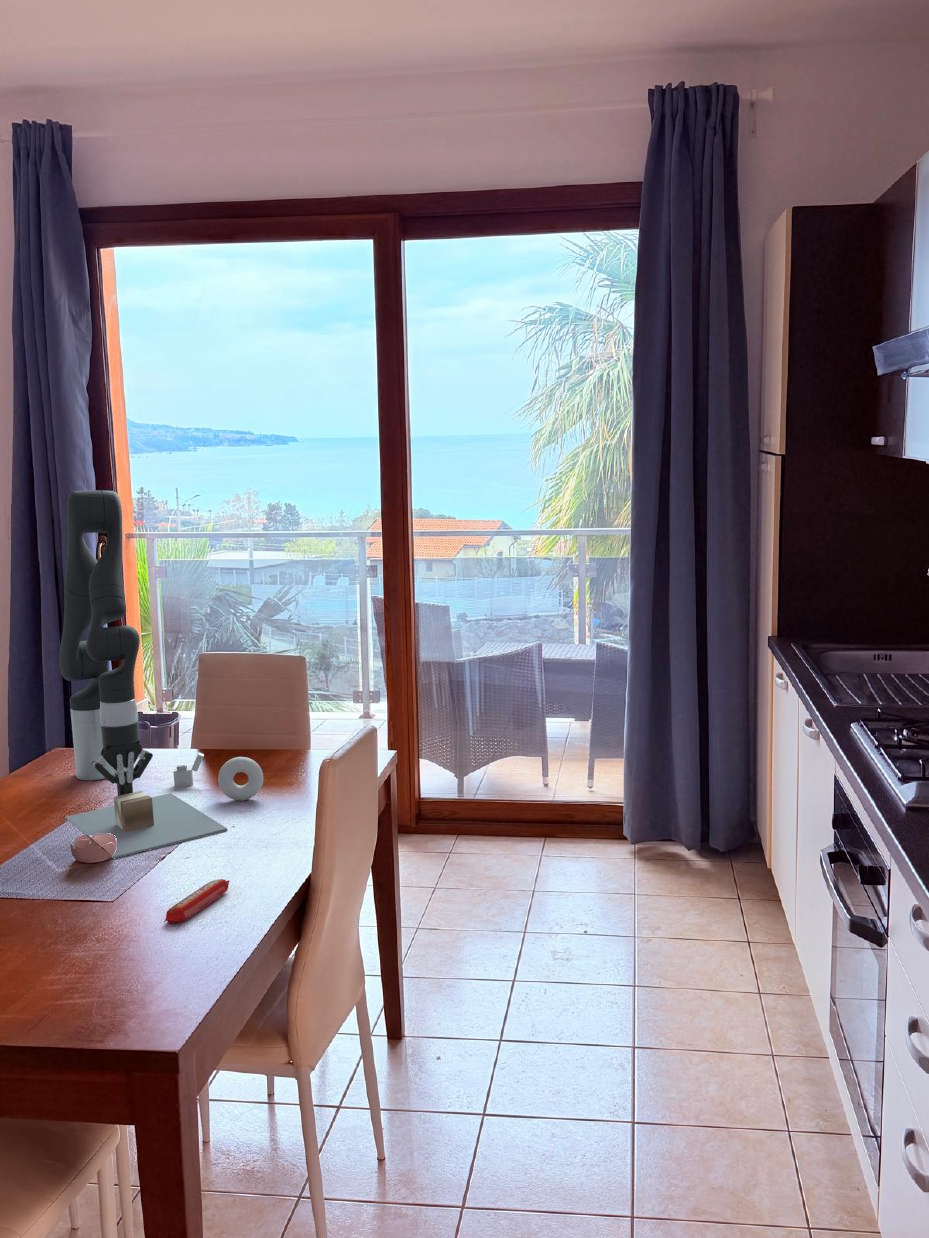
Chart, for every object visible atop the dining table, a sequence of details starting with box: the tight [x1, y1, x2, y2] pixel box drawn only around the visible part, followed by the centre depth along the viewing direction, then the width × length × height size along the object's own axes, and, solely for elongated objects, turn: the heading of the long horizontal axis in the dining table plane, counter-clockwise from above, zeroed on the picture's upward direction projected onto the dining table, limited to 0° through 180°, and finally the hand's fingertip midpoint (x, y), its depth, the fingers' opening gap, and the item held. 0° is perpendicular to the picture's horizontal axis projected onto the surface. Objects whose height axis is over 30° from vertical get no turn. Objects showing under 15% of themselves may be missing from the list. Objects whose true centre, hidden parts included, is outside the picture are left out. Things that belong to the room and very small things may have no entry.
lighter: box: [172, 752, 205, 788], centre depth 258 cm, size 7×2×8 cm, turn 100°
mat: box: [64, 792, 228, 860], centre depth 233 cm, size 30×24×1 cm
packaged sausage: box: [163, 878, 230, 924], centre depth 191 cm, size 16×4×3 cm, turn 159°
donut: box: [217, 756, 264, 802], centre depth 247 cm, size 10×3×10 cm, turn 97°
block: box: [113, 790, 154, 832], centre depth 232 cm, size 6×6×6 cm
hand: (125, 799), depth 235 cm, fingers closed
